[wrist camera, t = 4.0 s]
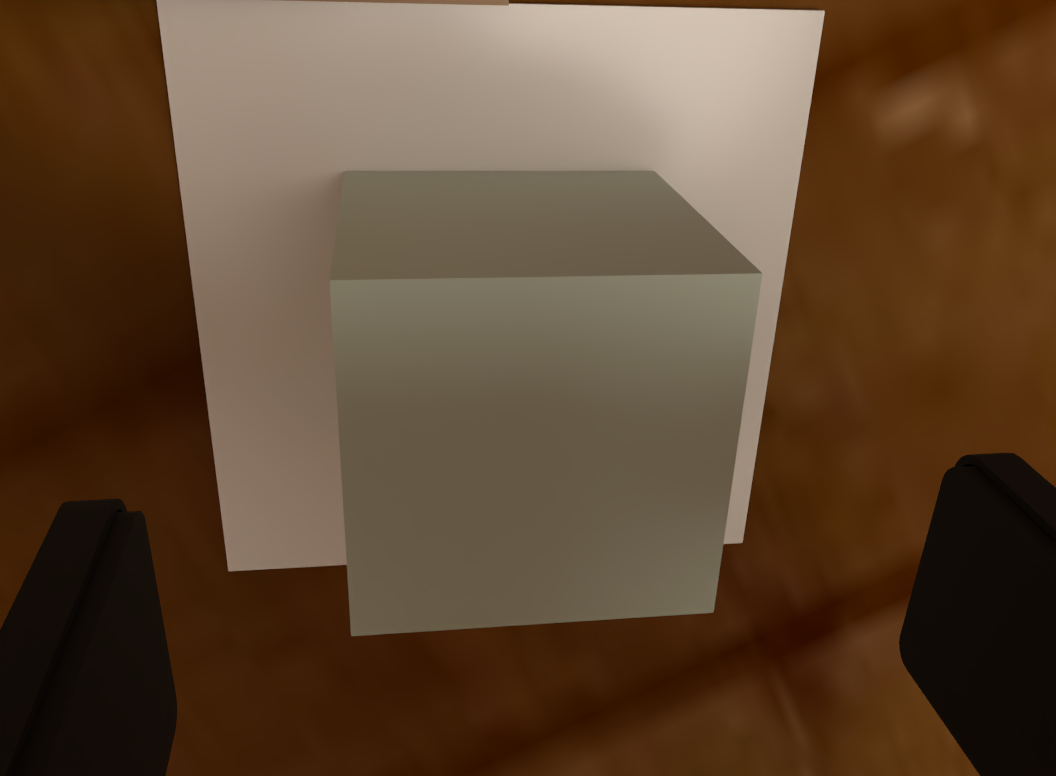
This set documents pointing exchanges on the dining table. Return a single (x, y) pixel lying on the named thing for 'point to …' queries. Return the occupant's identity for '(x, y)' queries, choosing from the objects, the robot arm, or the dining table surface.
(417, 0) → the beige square tile
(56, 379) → the dining table surface
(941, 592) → the robot arm
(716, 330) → the sage block
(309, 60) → the tile
